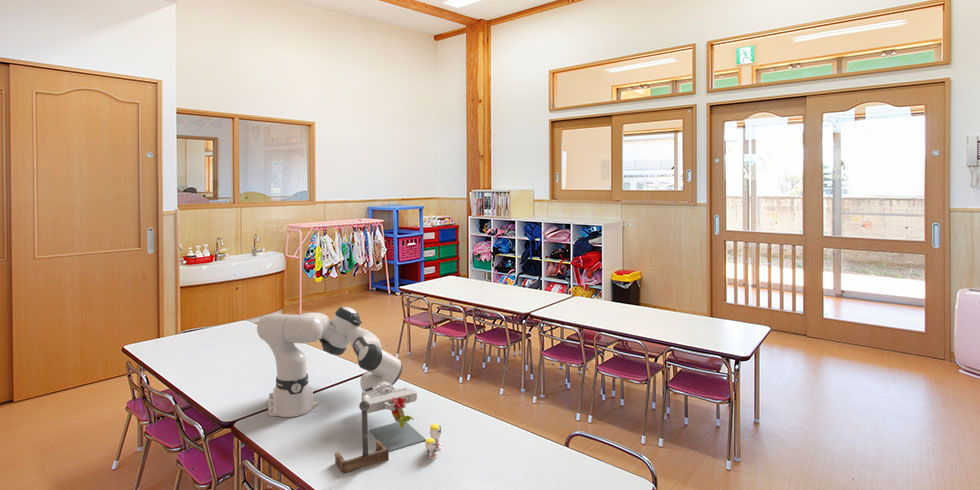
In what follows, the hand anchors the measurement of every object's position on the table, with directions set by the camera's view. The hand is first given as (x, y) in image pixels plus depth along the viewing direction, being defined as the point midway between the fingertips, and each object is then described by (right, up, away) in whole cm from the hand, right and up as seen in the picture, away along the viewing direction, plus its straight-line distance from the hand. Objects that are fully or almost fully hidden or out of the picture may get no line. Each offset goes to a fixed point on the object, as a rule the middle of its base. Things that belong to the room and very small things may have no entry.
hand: (398, 407), depth 192 cm
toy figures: (+14, -13, -9) cm, 20 cm away
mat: (-1, -11, +2) cm, 11 cm away
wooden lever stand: (-9, -13, -16) cm, 23 cm away
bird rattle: (+1, -7, +3) cm, 7 cm away
